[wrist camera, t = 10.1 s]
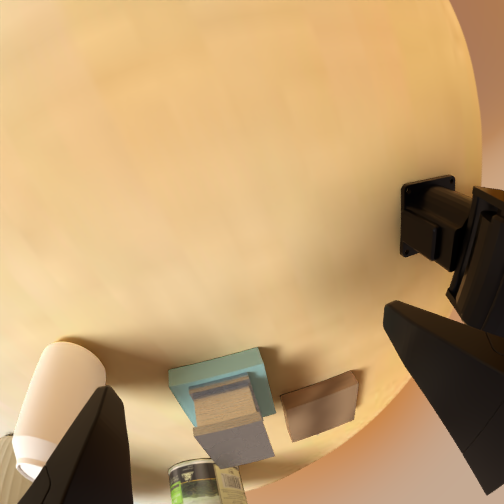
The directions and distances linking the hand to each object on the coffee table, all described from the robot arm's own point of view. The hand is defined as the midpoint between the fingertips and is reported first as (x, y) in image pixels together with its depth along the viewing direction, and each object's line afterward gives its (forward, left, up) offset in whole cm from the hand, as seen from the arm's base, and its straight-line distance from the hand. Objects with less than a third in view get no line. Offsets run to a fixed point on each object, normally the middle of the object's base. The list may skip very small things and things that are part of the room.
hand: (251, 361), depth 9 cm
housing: (+3, +16, -10) cm, 19 cm away
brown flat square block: (-6, +24, -12) cm, 28 cm away
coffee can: (+11, +35, -13) cm, 39 cm away
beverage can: (+15, +9, -13) cm, 21 cm away
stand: (+3, +16, -12) cm, 20 cm away
